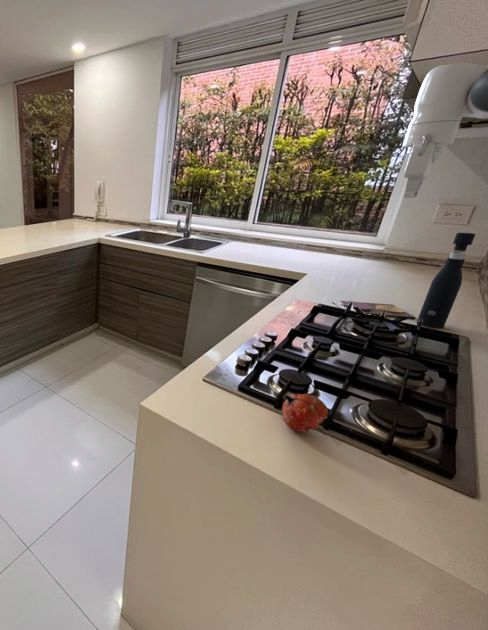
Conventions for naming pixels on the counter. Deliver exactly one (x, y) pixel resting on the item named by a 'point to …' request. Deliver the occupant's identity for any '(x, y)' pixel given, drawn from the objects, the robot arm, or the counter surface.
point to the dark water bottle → (445, 285)
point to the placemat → (387, 310)
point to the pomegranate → (303, 412)
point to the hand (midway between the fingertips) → (410, 197)
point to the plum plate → (358, 305)
